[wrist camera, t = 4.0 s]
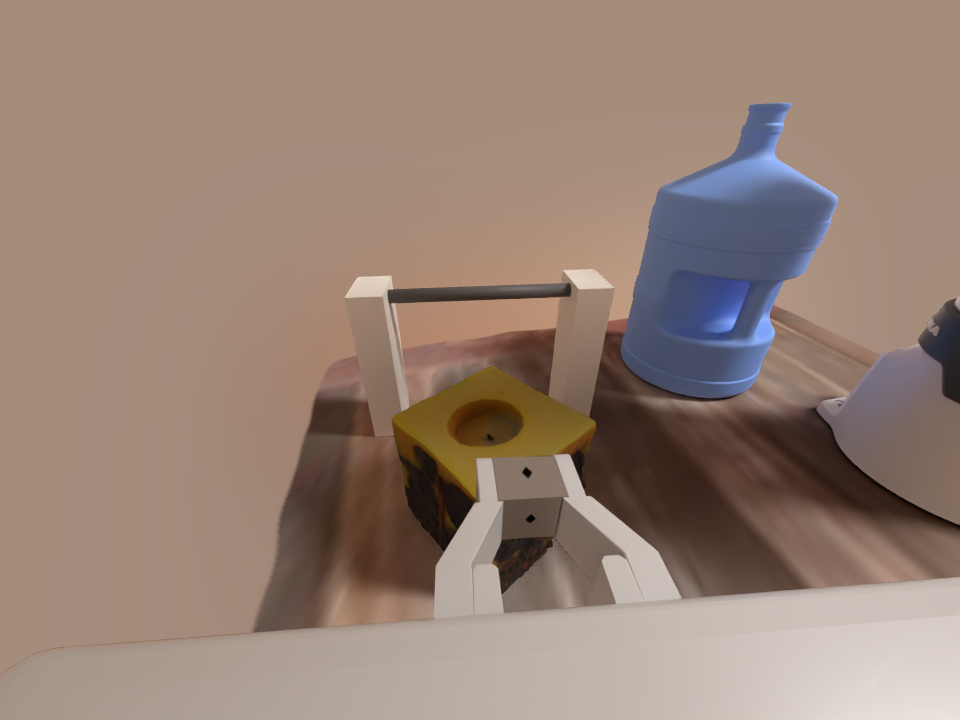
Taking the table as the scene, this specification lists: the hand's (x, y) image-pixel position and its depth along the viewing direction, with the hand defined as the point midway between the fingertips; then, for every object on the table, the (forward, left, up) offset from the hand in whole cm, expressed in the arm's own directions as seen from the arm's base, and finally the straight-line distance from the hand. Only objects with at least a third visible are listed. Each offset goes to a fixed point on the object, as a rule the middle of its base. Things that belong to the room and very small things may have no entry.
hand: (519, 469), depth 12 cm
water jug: (-36, -19, -17) cm, 44 cm away
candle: (-4, -9, -17) cm, 20 cm away
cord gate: (-8, -21, -17) cm, 28 cm away
